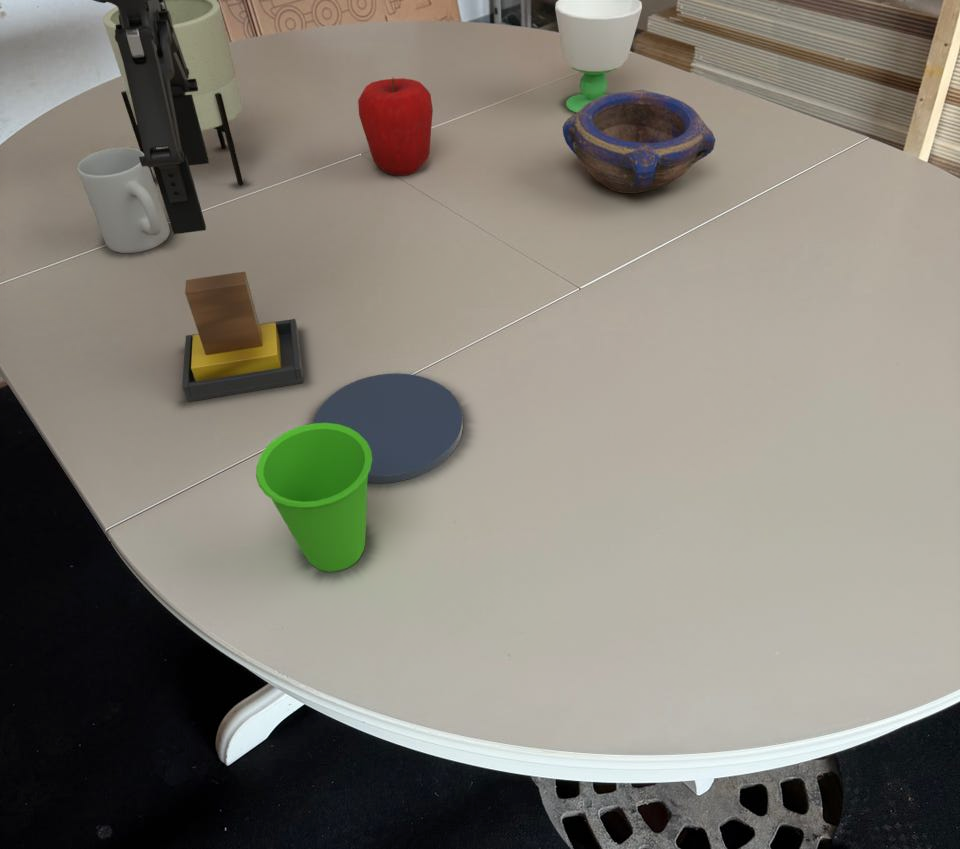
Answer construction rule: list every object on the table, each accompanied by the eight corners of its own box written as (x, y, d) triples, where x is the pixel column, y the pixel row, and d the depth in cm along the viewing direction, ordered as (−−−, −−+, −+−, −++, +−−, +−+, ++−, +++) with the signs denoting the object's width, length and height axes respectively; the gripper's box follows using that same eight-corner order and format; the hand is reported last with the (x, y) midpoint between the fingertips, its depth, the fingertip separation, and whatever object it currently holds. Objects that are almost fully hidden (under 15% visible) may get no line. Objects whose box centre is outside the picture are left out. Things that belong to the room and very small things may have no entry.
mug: (94, 239, 112) (63, 163, 105) (149, 215, 116) (124, 140, 109) (139, 270, 106) (111, 192, 98) (196, 243, 110) (173, 167, 103)
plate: (320, 496, 76) (318, 488, 76) (308, 393, 87) (307, 386, 86) (477, 467, 78) (476, 459, 78) (447, 370, 89) (446, 363, 88)
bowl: (625, 225, 110) (633, 154, 103) (547, 174, 122) (548, 107, 115) (723, 187, 117) (736, 118, 110) (640, 143, 128) (646, 78, 121)
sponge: (197, 386, 88) (168, 304, 80) (198, 352, 92) (171, 272, 85) (282, 372, 89) (261, 291, 82) (279, 339, 93) (259, 259, 86)
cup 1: (408, 548, 71) (395, 460, 64) (324, 611, 67) (299, 524, 59) (345, 494, 76) (326, 406, 69) (263, 550, 72) (233, 462, 64)
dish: (187, 402, 87) (182, 387, 85) (190, 350, 93) (185, 335, 92) (303, 382, 88) (300, 367, 87) (298, 333, 95) (295, 318, 93)
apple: (440, 152, 128) (434, 63, 119) (431, 183, 121) (423, 90, 111) (374, 152, 129) (362, 63, 120) (360, 182, 122) (347, 90, 112)
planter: (201, 206, 118) (152, 38, 102) (134, 178, 125) (79, 16, 109) (280, 166, 127) (246, 5, 111) (213, 141, 134) (172, -13, 118)
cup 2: (537, 99, 142) (538, 0, 131) (604, 83, 146) (610, -14, 136) (579, 127, 133) (584, 24, 122) (649, 109, 137) (660, 8, 126)
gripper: (159, -26, 54) (233, 257, 68) (177, -101, 72) (233, 135, 86) (38, -16, 53) (140, 270, 67) (87, -95, 70) (159, 144, 85)
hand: (192, 195), depth 76 cm, fingers open, 13 cm apart
